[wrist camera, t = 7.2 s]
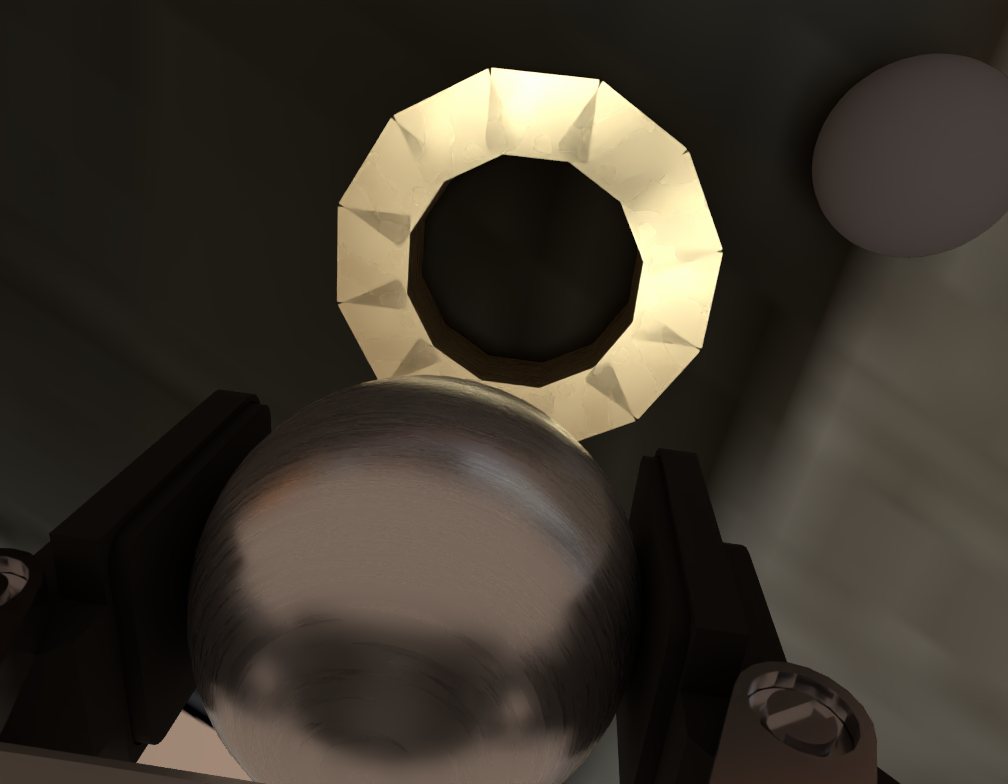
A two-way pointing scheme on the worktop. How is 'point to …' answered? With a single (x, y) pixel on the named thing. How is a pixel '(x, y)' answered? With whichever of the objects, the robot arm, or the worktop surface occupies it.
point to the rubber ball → (916, 156)
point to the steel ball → (414, 593)
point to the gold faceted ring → (546, 135)
